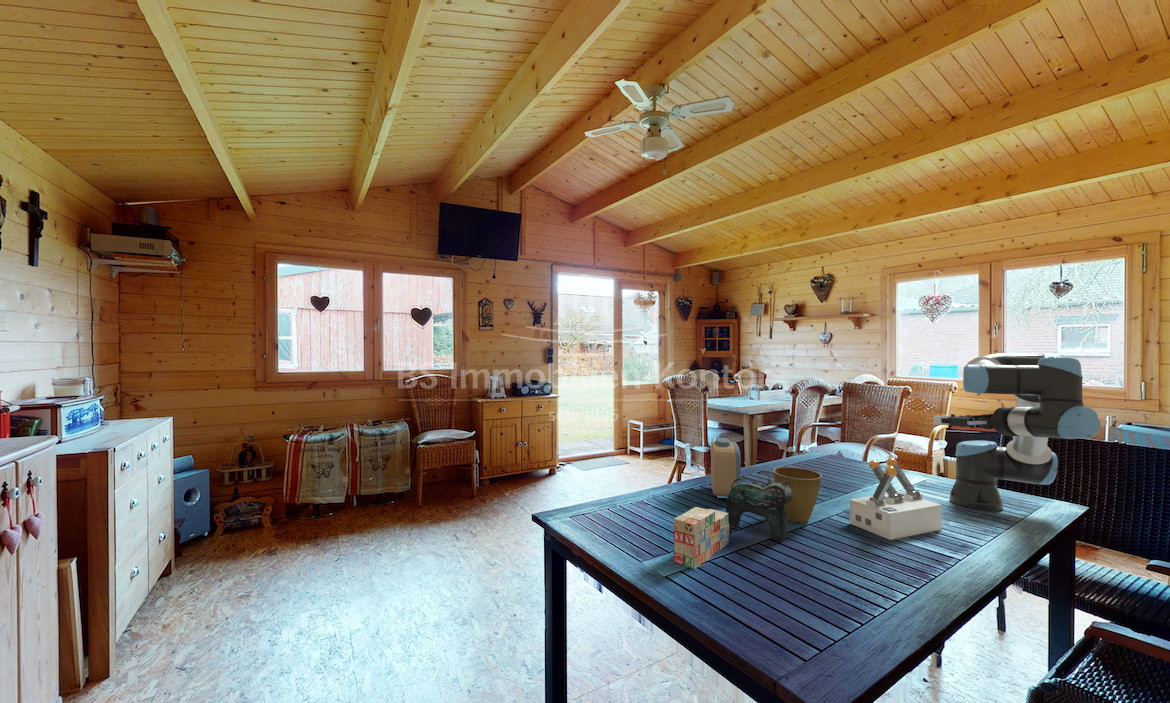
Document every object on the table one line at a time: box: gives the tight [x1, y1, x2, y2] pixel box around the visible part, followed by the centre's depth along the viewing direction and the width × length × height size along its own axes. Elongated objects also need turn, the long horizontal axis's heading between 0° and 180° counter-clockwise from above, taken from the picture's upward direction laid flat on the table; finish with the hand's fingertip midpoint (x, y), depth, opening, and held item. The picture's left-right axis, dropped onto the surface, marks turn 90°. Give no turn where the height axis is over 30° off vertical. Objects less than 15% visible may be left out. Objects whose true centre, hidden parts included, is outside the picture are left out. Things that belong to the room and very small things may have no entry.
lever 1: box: [869, 465, 897, 504], centre depth 146 cm, size 3×3×14 cm
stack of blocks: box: [673, 506, 730, 570], centre depth 132 cm, size 21×6×12 cm, turn 138°
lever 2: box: [885, 457, 921, 498], centre depth 158 cm, size 3×3×14 cm
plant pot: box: [772, 466, 823, 524], centre depth 158 cm, size 15×15×16 cm
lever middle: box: [868, 459, 902, 501], centre depth 155 cm, size 3×3×14 cm
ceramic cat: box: [725, 470, 792, 542], centre depth 146 cm, size 20×6×20 cm, turn 47°
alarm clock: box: [710, 437, 742, 497], centre depth 185 cm, size 21×10×22 cm, turn 168°
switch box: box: [849, 491, 943, 541], centre depth 151 cm, size 24×14×10 cm, turn 110°
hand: (935, 420), depth 144 cm, fingers closed
